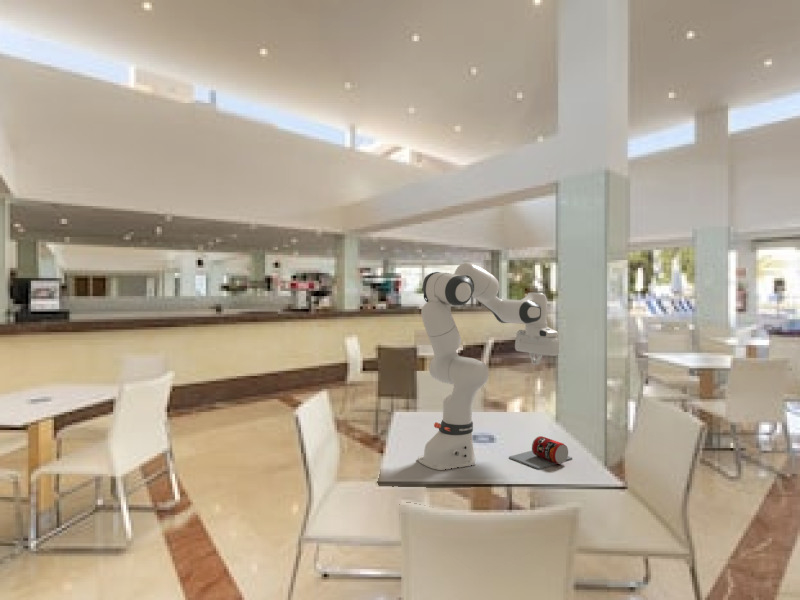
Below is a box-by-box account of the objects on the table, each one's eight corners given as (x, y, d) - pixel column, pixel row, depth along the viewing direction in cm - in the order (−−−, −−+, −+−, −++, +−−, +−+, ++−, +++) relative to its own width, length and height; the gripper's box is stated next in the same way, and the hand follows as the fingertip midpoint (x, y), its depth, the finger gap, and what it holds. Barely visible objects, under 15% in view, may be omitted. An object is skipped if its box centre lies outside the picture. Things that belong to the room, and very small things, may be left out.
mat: (538, 469, 168) (538, 468, 168) (508, 458, 180) (508, 456, 180) (572, 459, 180) (572, 457, 180) (542, 449, 191) (542, 447, 191)
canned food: (553, 464, 170) (530, 455, 179) (567, 464, 174) (544, 455, 183) (556, 443, 170) (533, 435, 180) (570, 444, 175) (546, 436, 184)
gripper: (511, 329, 202) (511, 361, 202) (551, 333, 185) (551, 367, 186) (521, 329, 206) (521, 360, 206) (561, 332, 189) (560, 366, 189)
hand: (535, 364), depth 196 cm, fingers closed
